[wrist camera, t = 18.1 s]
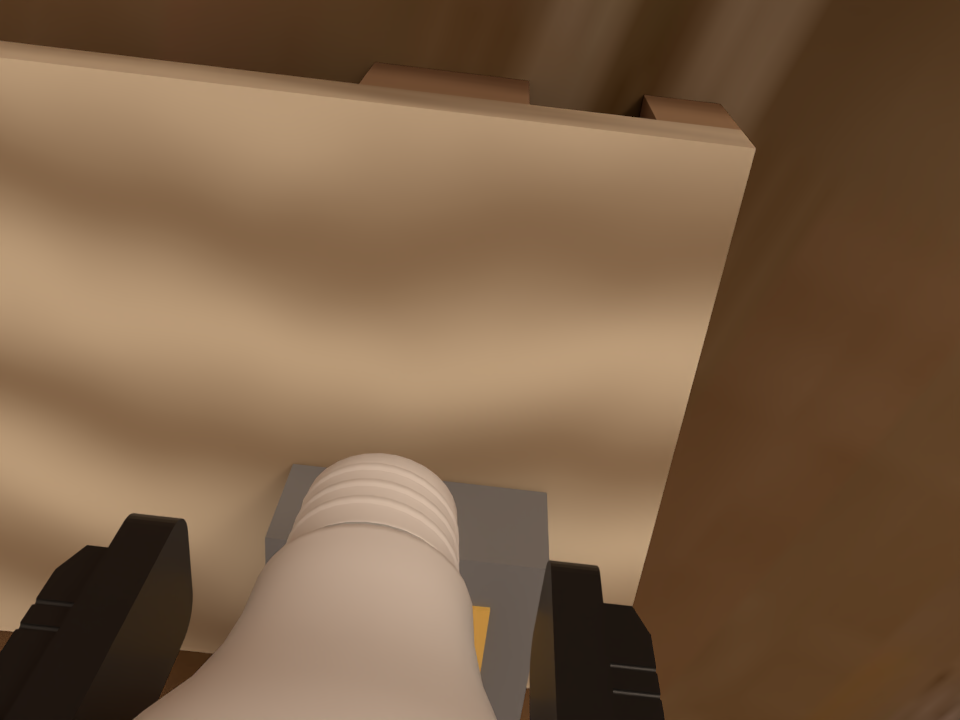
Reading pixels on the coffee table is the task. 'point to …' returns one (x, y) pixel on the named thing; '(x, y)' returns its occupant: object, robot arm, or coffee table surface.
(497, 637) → the grey box
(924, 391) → the coffee table surface
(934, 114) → the coffee table surface
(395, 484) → the lightbulb
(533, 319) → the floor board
